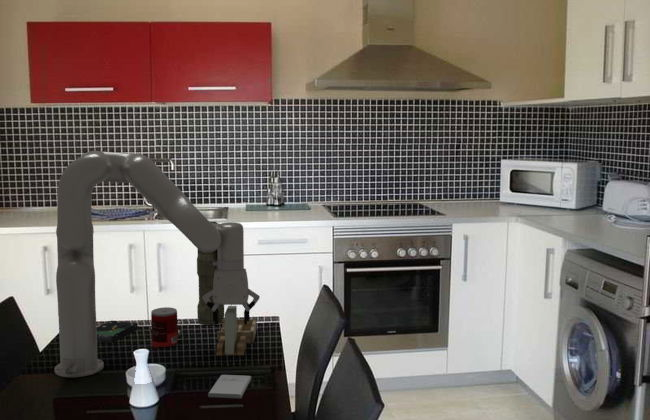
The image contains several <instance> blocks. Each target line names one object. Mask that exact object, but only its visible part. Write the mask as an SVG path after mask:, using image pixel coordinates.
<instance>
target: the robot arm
mask: <svg viewBox="0 0 650 420" xmlns="http://www.w3.org/2000/svg"><path fill="white" fill-rule="evenodd" d="M103 182H108V183H121V184H122V183H124V184H126V183H127V184H130V185H131V186H132V187H133V188H134V189H135V190H136V191H137V192H138V193H139V194H140V195H141V196H142V197H143V198H144V199H145V200H146V201H147V202H148V203H149V204H150V205H151V206H152V207H153V208H154V209H155V210H156V211H157V212H158V213H159V214H160V215H161V216H162V217H163V218H165V219H166V220H167V221H169V222H170V223H171V224H172V225H173V226H174V227H176V228H177V230H179V232H181V233H182V235H184V237H186V238H187V240H189V241H190V243H192V244H193V246H194V247H195V248H196V249H197V250H198V249H199V250H200V251H202V252H204V253H211V252H214V251H215V250H217V249H218V260H217V261H213V266H217V269H216V270H215V274H214V282H213V290H211V291H210V292H208V293H207V294H205V295H204V296H203V297H202V299H203V300H204V301H205V303H206V304H207V306H208V307H209V308H210V309H211V310H212V311H213V321H215V325H214V326H217V324H218V322H219V310H218V308H217V307H218V306H219V305H224V306H225V305H226V306H238V305H239V306H240V305H241V306H242V307H243V308H244V311H243V319H244V324H245V325H247V321H249V319H251V318H250V312H251V309H253V308H254V307H255V305H256V304H257V303H258V301H259V300H260V295H259V294H257V293H256V292H254V291H253V290H251V289H250V288H249V279H248V278H249V277H248V272H247V269H246V268H245V266H244V265H245V261H244V260H245V256H244V255H245V254H244V253H245V251H244V249H245V248H244V247H245V246H244V242H245V241H244V238H245V237H244V232H245V231H244V226H243V224H241V223H240V222H234V221H233V222H230V221H229V222H223V223H219V224H218V222H217V223H210V222H211V221H210V220H209V219H208V218H207V217H205V215H204V214H203V213H202V212H201V211H200V210H199V209H198V208H197V207H196V206H195V205H194V204H193V203H192V202H191V200H190V199H189V198H188V197H187V196H186V194H185V193H184V192H183V191H182V190H181V189H180V188H179V187H178V185H176V184H175V183H174V182H173V181H172V180H171V179H170V178H169V177H168V176H167V175H166V173H165V172H163V171H162V169H161V168H160V167H158V165H156V163H154V161H153V160H152V159H151V158H149V157H148V156H146V155H143V154H141V153H123V152H113V151H112V152H111V151H101V150H89V151H87V152H85V153H84V154H82V155H81V156H79V157H77V158H76V159H74V160H73V161H72V162H71V163H69V164H68V165H67V166H66V168H64V170H63V172H62V174H61V176H60V178H59V181H58V186H57V207H56V210H57V212H56V214H57V216H56V217H57V225H56V229H55V233H56V234H55V235H56V241H57V242H56V244H57V245H56V246H57V250H56V251H57V268H56V274H55V275H56V277H55V281H56V283H55V284H56V294H57V312H58V313H57V314H58V315H57V316H58V332H59V333H58V334H59V336H58V337H59V360H60V363H58V364H57V365H56V366H55V367H54V373H55V375H57V376H59V377H61V378H70V379H71V378H83V377H88V376H92V375H94V374H97V373H99V372H101V371H102V370H103V369H104V367H105V366H104V365H105V364H104V361H103V360H102V359H99V358H98V341H97V329H96V327H97V310H96V306H97V305H96V270H95V261H94V257H95V256H94V231H95V230H94V225H93V222H92V220H93V219H92V218H93V217H92V215H93V214H92V201H93V199H92V196H93V195H92V193H93V191H94V188H95V187H96V185H98V184H100V183H103ZM212 295H213V302H214V303H215V304H213V303H212V302H211V301H210V300H209V297H211V296H212ZM249 296H250V297H252V298H253V299H252V301H250V302H248V301H249ZM218 325H219V324H218Z"/></svg>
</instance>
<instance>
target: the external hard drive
mask: <svg viewBox="0 0 650 420" xmlns="http://www.w3.org/2000/svg"><path fill="white" fill-rule="evenodd" d="M251 381H252V376H251V375H239V374H237V375H236V374H221V375H220V376H219V378H217V380H216V382H215V383H214V385H213V386H212V387H211V389H210V391H209V392H208V393H207V396H208V398H220V399H221V398H222V399H225V398H226V399H239V400H241V399H242V397H243V396H244V393H245V392H246V390H247V388H248V386H249V384H250V383H251Z"/></svg>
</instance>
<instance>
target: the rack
mask: <svg viewBox="0 0 650 420" xmlns="http://www.w3.org/2000/svg"><path fill="white" fill-rule="evenodd" d="M221 324H222V325H221V326H223V324H225V318H224V319H222V323H221ZM237 325H238V330H237V344H238V343H239V340H240V337H241V336H246V344H254V343H255V338H256V334H257V327H258V326H257V318H250V319H249V321H247V325H245V324H244V318H237ZM221 336H225V331H222V329H221V330H217V331H216V343H217V344H218V342H219V339H220V337H221ZM217 344H216V345H217Z"/></svg>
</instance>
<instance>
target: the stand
mask: <svg viewBox="0 0 650 420" xmlns="http://www.w3.org/2000/svg"><path fill="white" fill-rule="evenodd" d="M246 348H247V343H246V336H241V337H240V340H239V343H237V346H236V349H235V352H234V354H225V336H221V337H220V339H219V342H218V344H216V354H215V356H244V355H245V351H246Z"/></svg>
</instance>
